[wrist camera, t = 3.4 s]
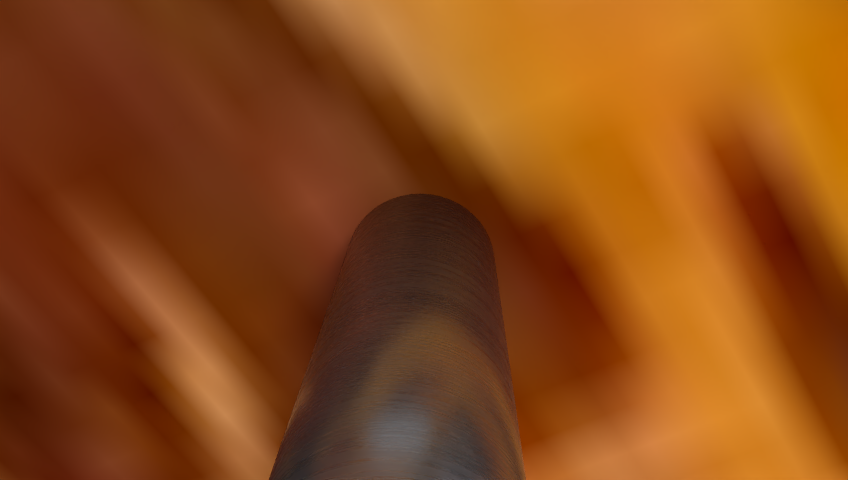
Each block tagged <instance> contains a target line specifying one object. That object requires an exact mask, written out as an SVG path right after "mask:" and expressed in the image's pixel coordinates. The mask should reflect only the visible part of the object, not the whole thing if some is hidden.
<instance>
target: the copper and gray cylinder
mask: <svg viewBox="0 0 848 480" xmlns="http://www.w3.org/2000/svg"><path fill="white" fill-rule="evenodd" d="M269 480H526V477H525V470H524V463H523V456H522V449H521V442H520V435H519V428H518V420H517V413H516V406H515V399H514V392H513V385H512V378H511V371H510V364H509V357H508V350H507V343H506V336H505V329H504V322H503V315H502V308H501V301H500V294H499V287H498V280H497V273H496V266H495V259H494V253H493V248H492V244H491V241H490V239H489V236H488V234H487V232H486V230H485V229H484V227H483V226H482V224H481V223H480V222H479V221H478V220H477V218H476V217H475V216H474V215H473V214H472V213H470V212H469V211H468V210H467V209H465V208H464V207H462V206H461V205H459V204H458V203H456V202H453V201H451V200H449V199H446V198H443V197H440V196H435V195H429V194H410V195H405V196H400V197H397V198H394V199H391V200H389V201H387V202H384V203H383V204H381V205H379V206H378V207H376V208H375V209H374V210H372V211H371V212H370V213H369V214H368V215H367V216H366V217H365V218H364V219H363V220H362V221H361V223H360V224H359V226H358V227H357V229H356V230H355V232H354V234H353V237H352V239H351V242H350V245H349V248H348V251H347V254H346V257H345V260H344V263H343V265H342V268H341V271H340V274H339V277H338V280H337V283H336V286H335V289H334V292H333V295H332V297H331V300H330V303H329V306H328V309H327V312H326V315H325V318H324V321H323V324H322V327H321V330H320V332H319V335H318V338H317V341H316V344H315V347H314V350H313V353H312V356H311V359H310V362H309V364H308V367H307V370H306V373H305V376H304V379H303V382H302V385H301V388H300V391H299V394H298V397H297V399H296V402H295V405H294V408H293V411H292V414H291V417H290V420H289V423H288V426H287V429H286V431H285V434H284V437H283V440H282V443H281V446H280V449H279V452H278V455H277V458H276V461H275V463H274V466H273V469H272V472H271V475H270V478H269Z"/></svg>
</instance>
